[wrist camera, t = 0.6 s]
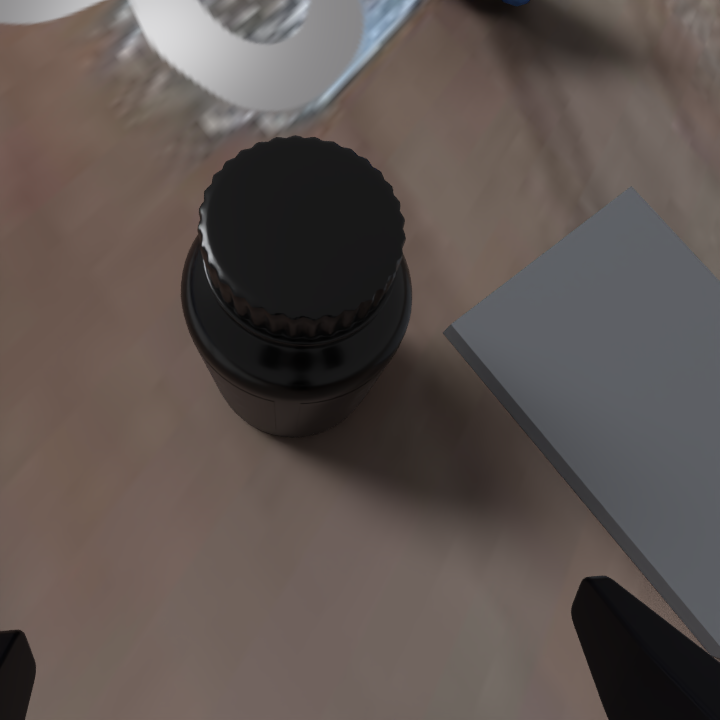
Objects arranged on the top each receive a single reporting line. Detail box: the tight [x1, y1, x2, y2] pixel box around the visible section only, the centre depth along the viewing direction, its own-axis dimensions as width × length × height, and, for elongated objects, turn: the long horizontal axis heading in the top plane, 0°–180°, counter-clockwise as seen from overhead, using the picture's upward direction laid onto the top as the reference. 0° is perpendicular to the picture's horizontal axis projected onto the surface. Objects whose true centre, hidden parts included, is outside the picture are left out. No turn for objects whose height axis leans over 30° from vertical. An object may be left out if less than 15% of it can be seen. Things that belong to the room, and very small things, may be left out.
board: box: [443, 186, 720, 658], centre depth 25 cm, size 18×13×1 cm
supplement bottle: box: [181, 135, 412, 437], centre depth 18 cm, size 7×7×12 cm
